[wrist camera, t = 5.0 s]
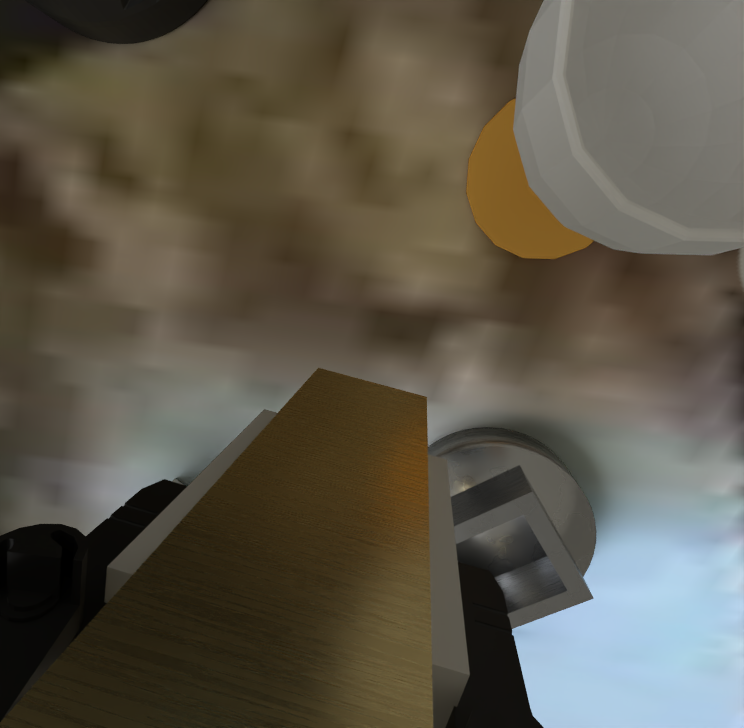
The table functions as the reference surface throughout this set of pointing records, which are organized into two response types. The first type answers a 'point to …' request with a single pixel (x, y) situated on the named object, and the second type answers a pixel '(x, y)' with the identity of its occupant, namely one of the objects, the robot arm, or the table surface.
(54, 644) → the robot arm
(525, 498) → the ratchet
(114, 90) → the table surface
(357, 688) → the gold square rod
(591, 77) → the cup
